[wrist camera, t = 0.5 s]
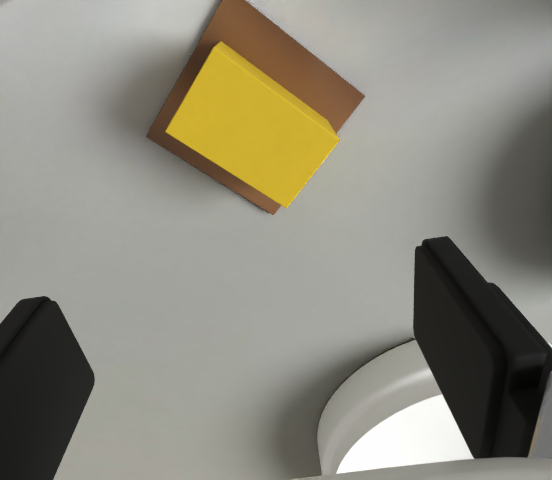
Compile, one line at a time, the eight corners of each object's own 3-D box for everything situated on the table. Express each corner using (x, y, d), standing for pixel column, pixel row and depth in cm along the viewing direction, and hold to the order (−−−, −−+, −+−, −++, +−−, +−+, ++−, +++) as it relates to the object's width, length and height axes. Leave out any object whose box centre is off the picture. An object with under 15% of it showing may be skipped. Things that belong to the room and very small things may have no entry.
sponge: (220, 40, 24) (213, 46, 20) (327, 120, 26) (340, 139, 22) (178, 113, 26) (164, 131, 22) (282, 181, 28) (286, 208, 24)
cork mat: (229, -13, 23) (228, -13, 22) (363, 95, 26) (365, 96, 26) (147, 135, 27) (146, 136, 26) (273, 213, 30) (273, 215, 29)
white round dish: (280, 479, 46) (283, 533, 41) (388, 295, 34) (410, 342, 29) (483, 511, 51) (506, 563, 47) (640, 362, 39) (693, 411, 34)
